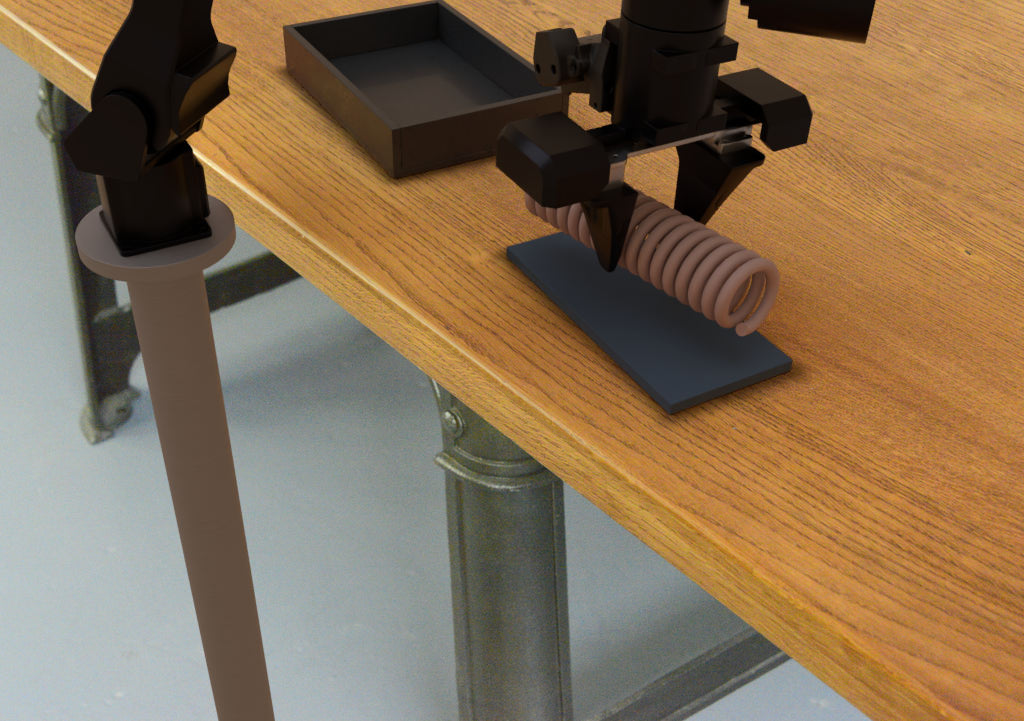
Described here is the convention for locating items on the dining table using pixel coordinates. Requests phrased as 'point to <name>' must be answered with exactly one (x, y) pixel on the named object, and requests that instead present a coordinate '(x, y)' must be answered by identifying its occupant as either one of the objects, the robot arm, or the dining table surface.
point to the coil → (684, 261)
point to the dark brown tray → (416, 83)
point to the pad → (647, 326)
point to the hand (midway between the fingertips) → (643, 258)
